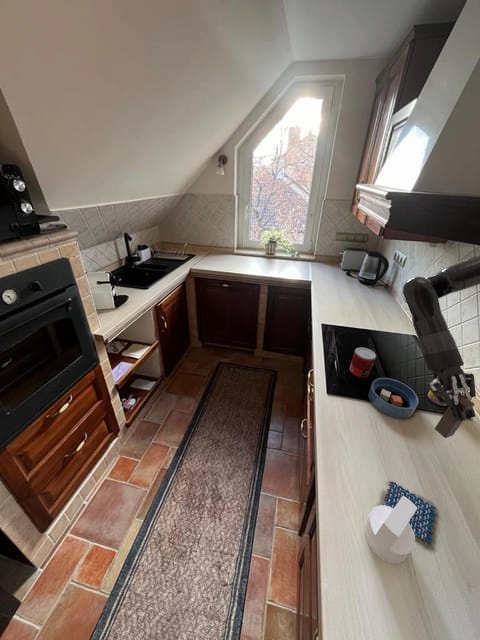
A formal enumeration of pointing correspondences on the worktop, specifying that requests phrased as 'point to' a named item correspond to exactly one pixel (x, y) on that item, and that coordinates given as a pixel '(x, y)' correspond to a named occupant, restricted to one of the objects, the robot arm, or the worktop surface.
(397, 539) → the base with upright slab
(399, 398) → the block
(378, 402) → the bowl
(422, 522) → the woven mat
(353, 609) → the worktop surface
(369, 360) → the canned food
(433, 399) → the supplement bottle
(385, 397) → the block
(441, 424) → the brown rectangular block
